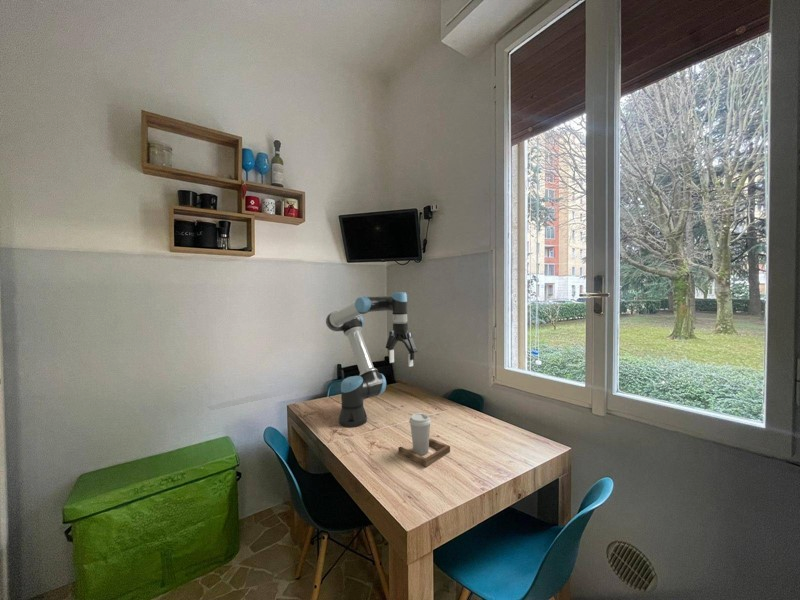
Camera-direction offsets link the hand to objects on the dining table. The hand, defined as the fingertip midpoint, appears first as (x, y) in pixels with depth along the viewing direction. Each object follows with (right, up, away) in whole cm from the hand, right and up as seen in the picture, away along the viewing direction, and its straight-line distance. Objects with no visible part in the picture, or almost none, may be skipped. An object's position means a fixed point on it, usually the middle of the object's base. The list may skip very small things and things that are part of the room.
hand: (401, 364), depth 155 cm
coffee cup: (+9, -33, -23) cm, 41 cm away
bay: (+9, -33, -23) cm, 41 cm away
